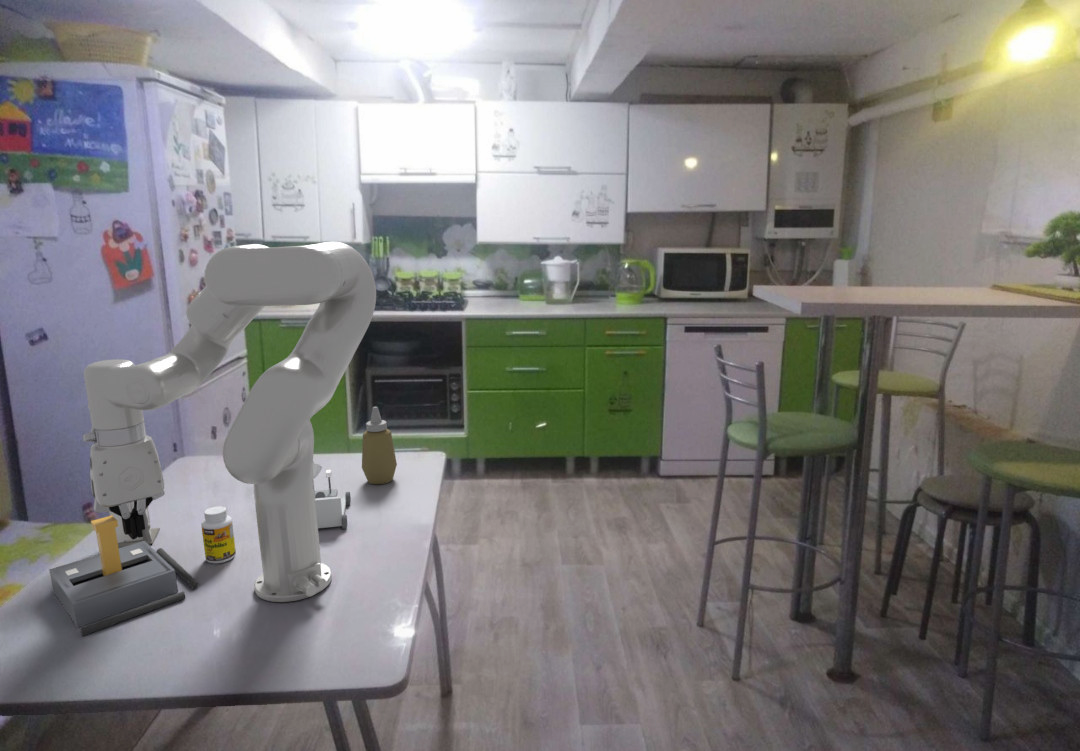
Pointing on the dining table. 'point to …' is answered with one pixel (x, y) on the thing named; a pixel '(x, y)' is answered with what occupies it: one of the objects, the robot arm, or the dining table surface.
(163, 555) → the dark grey rod
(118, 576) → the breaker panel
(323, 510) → the toy rover
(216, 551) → the supplement bottle
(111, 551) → the breaker lever
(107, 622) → the grey thin bar
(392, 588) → the dining table surface
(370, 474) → the squeeze bottle
